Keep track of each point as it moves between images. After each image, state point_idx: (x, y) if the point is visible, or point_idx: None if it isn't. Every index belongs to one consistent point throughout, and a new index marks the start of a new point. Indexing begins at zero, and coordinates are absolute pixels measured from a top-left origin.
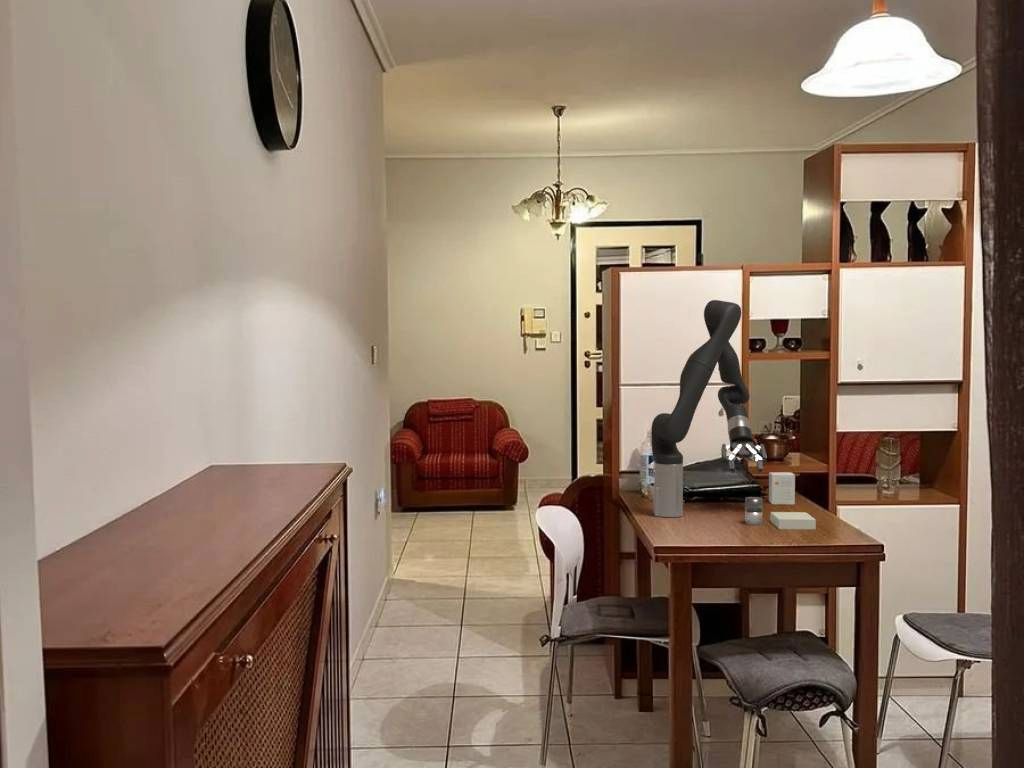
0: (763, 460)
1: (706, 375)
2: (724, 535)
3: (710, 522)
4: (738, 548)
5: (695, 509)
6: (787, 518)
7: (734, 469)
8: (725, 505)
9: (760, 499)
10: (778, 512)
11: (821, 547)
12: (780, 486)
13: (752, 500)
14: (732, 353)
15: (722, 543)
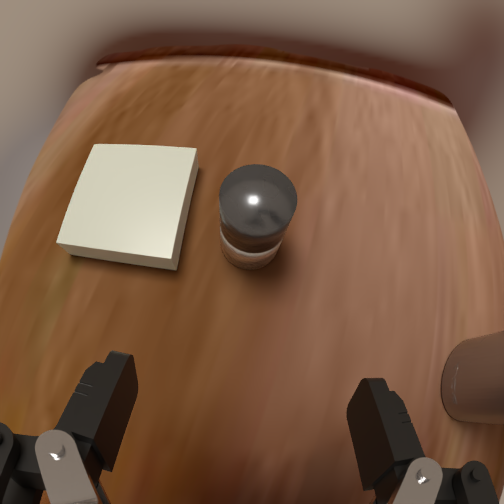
0: (33, 444)
1: None
2: (359, 132)
3: (383, 273)
4: (340, 63)
5: None
6: (163, 157)
7: (364, 379)
8: None
9: (237, 171)
10: (144, 248)
11: (190, 50)
12: None
13: (274, 170)
14: None
15: (365, 89)
